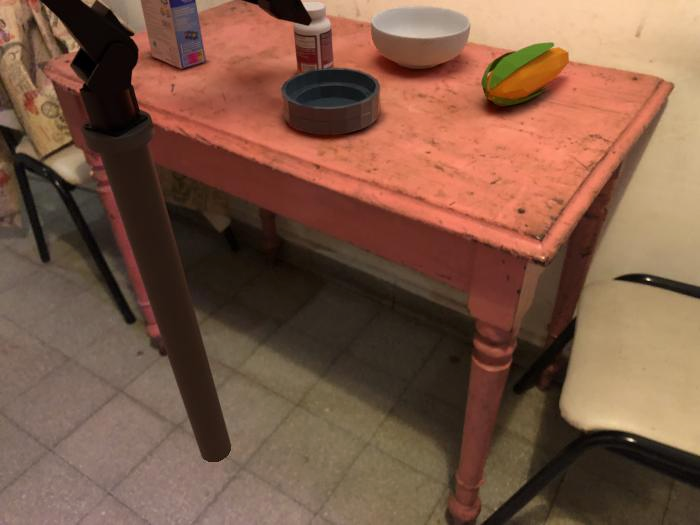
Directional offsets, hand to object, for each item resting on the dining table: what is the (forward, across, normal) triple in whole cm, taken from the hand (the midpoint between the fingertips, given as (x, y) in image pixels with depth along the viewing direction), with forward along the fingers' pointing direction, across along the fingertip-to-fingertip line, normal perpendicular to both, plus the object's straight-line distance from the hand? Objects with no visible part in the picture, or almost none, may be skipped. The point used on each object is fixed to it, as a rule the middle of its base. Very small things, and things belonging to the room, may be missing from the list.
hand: (294, 15), depth 92 cm
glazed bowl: (+5, -15, +10) cm, 18 cm away
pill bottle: (+10, 0, +5) cm, 11 cm away
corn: (+25, -27, -10) cm, 38 cm away
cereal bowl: (+22, -7, -7) cm, 24 cm away
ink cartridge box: (-2, +21, +16) cm, 27 cm away
